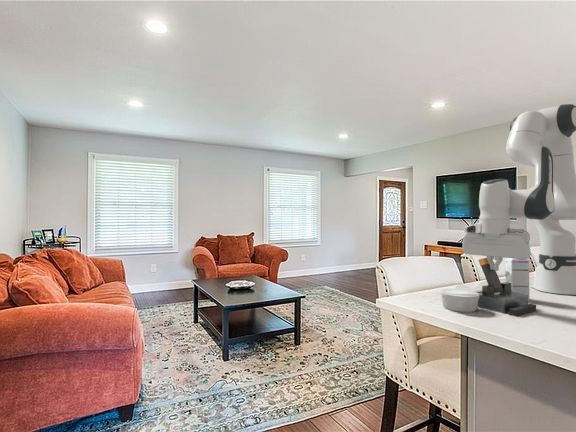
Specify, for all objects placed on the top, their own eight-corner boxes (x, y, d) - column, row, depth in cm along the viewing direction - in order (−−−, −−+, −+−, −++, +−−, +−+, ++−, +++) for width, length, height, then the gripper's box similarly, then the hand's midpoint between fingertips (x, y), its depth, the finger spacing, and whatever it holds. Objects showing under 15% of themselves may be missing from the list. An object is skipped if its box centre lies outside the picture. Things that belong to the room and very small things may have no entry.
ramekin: (462, 315, 103) (462, 297, 103) (432, 306, 113) (432, 290, 113) (487, 311, 108) (487, 294, 108) (456, 303, 118) (456, 287, 118)
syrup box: (530, 301, 121) (530, 259, 121) (511, 300, 122) (511, 258, 122) (522, 297, 127) (522, 257, 127) (504, 296, 128) (504, 256, 128)
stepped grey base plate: (490, 299, 123) (490, 279, 123) (528, 307, 113) (528, 285, 113) (466, 304, 116) (466, 283, 116) (504, 313, 105) (504, 290, 105)
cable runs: (469, 296, 128) (469, 291, 128) (537, 310, 109) (537, 304, 109) (446, 300, 121) (446, 295, 121) (515, 316, 102) (515, 310, 102)
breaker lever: (499, 292, 116) (485, 259, 120) (504, 291, 114) (490, 257, 118) (491, 293, 113) (477, 259, 117) (496, 292, 112) (482, 258, 116)
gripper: (534, 229, 108) (534, 274, 108) (470, 227, 125) (470, 266, 125) (524, 229, 105) (524, 275, 105) (459, 227, 122) (459, 267, 122)
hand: (494, 270), depth 115 cm, fingers closed
